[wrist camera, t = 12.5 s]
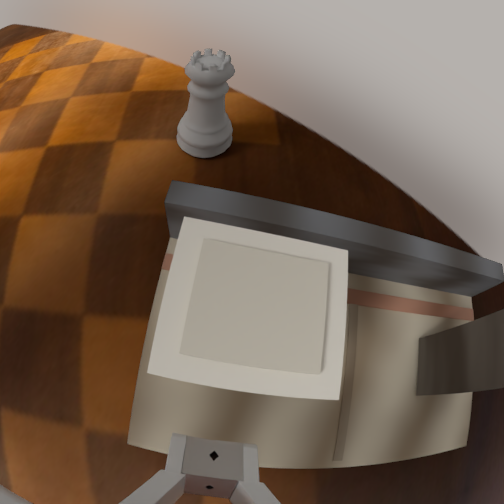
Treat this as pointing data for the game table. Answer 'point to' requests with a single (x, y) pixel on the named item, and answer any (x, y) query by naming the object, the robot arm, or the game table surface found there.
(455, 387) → the ebony key
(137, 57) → the game table surface
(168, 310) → the ivory key
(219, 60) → the rook chess piece
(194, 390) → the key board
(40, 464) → the game table surface
